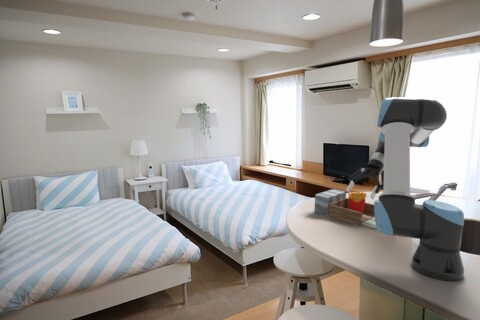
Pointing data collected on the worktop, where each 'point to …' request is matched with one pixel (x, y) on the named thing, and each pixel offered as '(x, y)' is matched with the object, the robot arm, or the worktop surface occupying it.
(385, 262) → the worktop surface
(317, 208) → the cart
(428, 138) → the robot arm
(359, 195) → the french fries
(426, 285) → the worktop surface
